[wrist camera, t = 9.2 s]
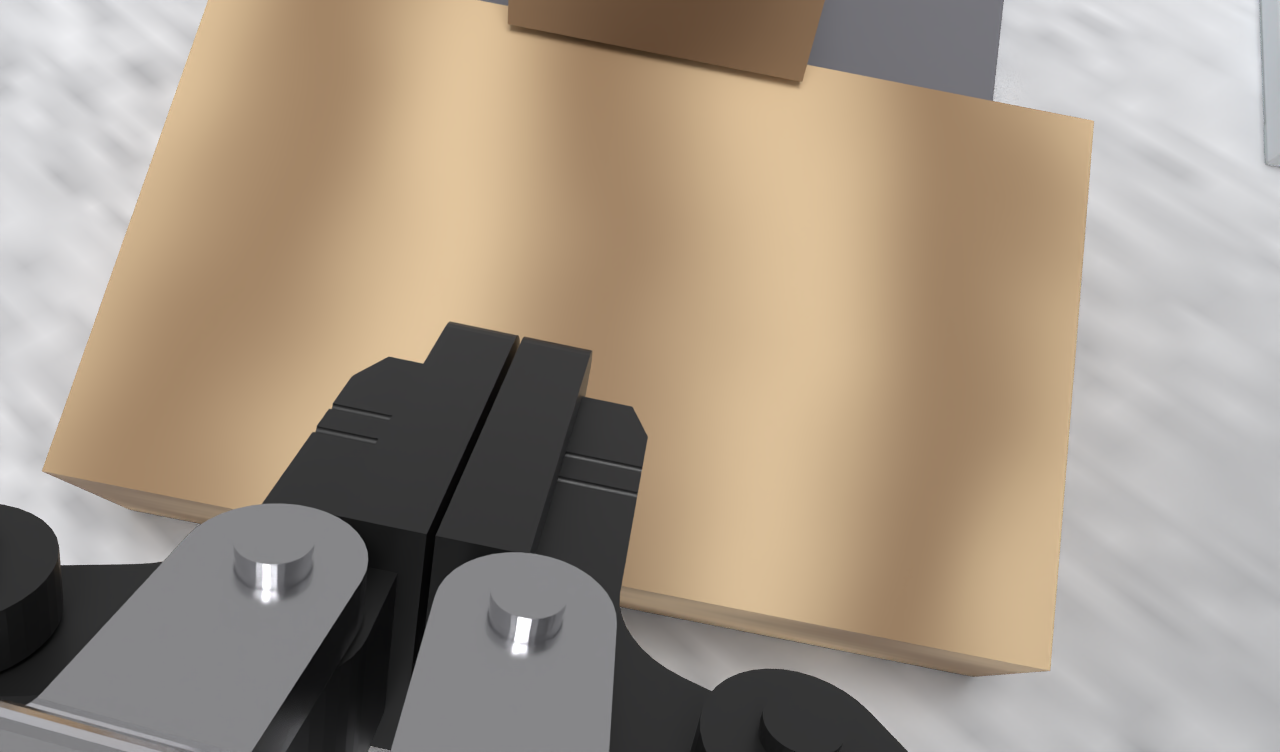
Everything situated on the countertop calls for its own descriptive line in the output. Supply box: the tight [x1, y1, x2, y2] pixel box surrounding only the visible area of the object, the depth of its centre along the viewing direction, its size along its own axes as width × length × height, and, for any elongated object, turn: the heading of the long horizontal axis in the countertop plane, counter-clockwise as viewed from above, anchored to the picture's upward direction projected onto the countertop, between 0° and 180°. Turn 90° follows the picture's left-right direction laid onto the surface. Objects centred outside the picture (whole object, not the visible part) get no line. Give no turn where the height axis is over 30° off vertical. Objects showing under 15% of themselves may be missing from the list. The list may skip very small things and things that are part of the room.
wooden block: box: [42, 0, 1094, 677], centre depth 23 cm, size 18×11×4 cm, turn 79°
